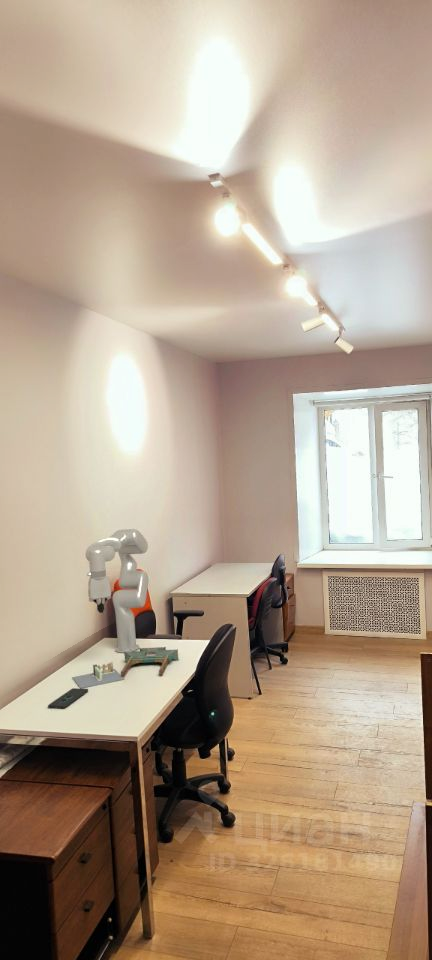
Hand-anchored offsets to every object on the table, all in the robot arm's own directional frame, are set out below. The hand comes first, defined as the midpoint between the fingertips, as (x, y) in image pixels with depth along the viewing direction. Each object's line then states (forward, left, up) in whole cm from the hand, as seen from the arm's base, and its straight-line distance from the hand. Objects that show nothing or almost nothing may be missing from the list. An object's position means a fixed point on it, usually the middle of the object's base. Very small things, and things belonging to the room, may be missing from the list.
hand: (101, 612), depth 303 cm
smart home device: (+33, -24, -28) cm, 50 cm away
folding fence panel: (+15, -7, -26) cm, 31 cm away
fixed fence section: (+10, -3, -26) cm, 28 cm away
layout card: (+15, -7, -27) cm, 31 cm away
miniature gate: (+12, +18, -27) cm, 34 cm away
